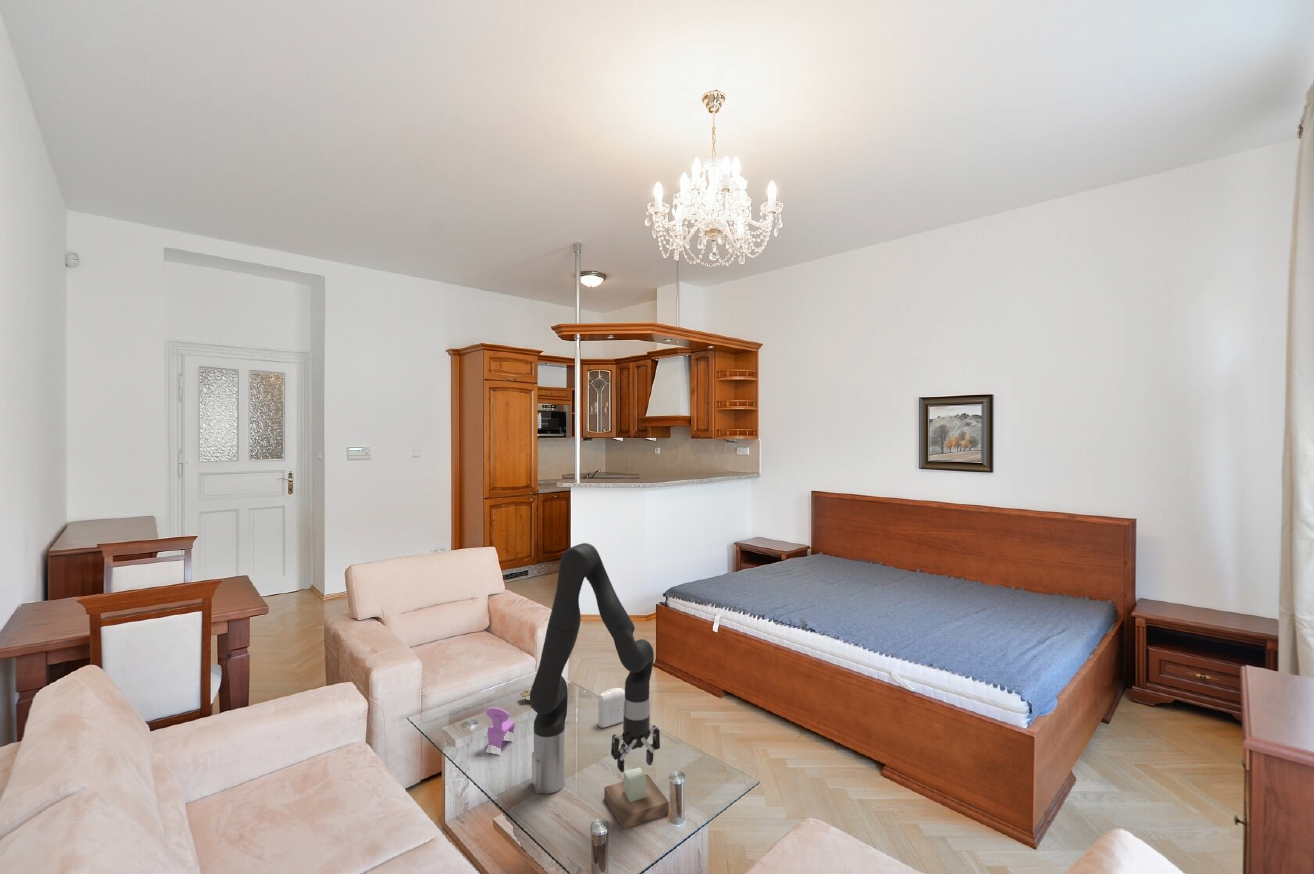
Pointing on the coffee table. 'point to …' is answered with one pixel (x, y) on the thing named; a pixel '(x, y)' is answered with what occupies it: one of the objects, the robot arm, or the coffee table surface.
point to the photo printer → (611, 707)
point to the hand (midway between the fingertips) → (635, 767)
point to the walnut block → (636, 804)
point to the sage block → (634, 784)
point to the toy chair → (498, 726)
